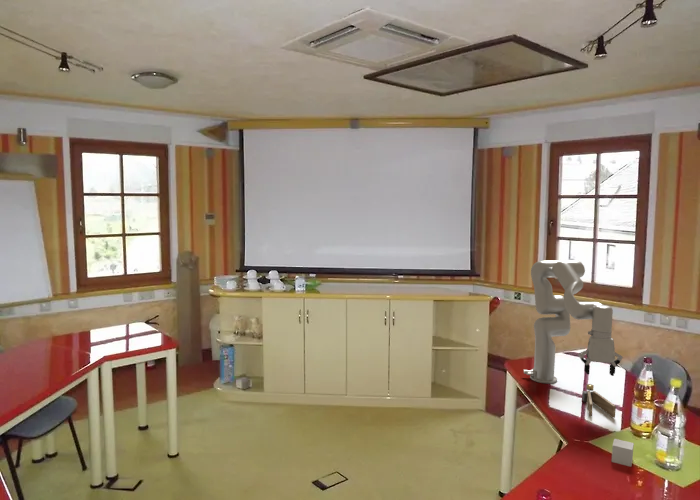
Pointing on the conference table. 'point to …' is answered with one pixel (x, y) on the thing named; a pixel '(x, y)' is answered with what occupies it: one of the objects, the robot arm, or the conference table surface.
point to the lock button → (590, 387)
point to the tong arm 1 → (589, 403)
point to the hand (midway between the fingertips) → (599, 374)
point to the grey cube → (622, 452)
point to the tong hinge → (584, 396)
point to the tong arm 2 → (604, 404)
